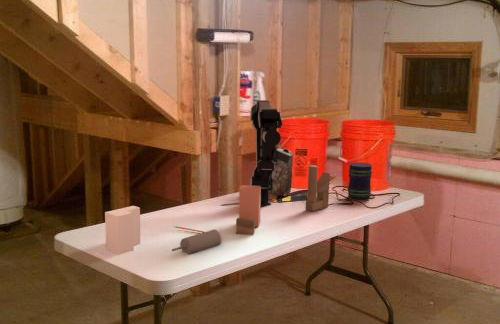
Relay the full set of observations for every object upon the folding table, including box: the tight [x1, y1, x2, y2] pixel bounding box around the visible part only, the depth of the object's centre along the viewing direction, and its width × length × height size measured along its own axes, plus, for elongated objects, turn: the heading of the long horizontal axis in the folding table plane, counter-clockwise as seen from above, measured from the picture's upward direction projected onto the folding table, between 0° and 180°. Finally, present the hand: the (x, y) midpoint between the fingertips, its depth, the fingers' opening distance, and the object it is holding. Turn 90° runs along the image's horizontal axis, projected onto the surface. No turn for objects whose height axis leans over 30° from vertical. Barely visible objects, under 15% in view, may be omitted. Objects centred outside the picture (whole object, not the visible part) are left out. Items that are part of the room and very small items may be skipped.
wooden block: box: [305, 165, 331, 212], centre depth 217 cm, size 4×11×18 cm, turn 136°
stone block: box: [268, 147, 294, 196], centre depth 241 cm, size 13×7×20 cm, turn 40°
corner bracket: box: [104, 205, 141, 255], centre depth 170 cm, size 11×11×12 cm
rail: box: [235, 217, 256, 236], centre depth 193 cm, size 20×6×5 cm, turn 171°
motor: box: [171, 226, 223, 255], centre depth 176 cm, size 23×22×5 cm
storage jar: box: [347, 161, 373, 202], centre depth 236 cm, size 10×10×15 cm
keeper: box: [238, 184, 262, 228], centre depth 194 cm, size 5×7×14 cm
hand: (267, 184), depth 202 cm, fingers open, 9 cm apart
